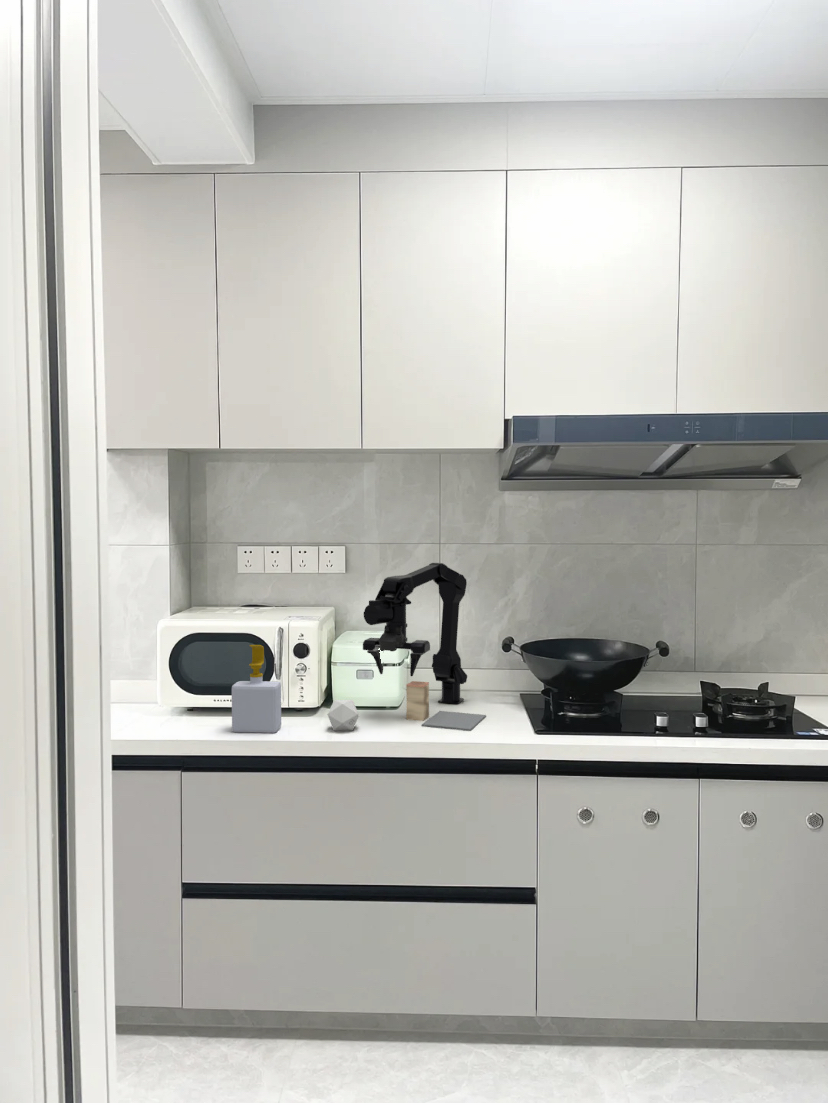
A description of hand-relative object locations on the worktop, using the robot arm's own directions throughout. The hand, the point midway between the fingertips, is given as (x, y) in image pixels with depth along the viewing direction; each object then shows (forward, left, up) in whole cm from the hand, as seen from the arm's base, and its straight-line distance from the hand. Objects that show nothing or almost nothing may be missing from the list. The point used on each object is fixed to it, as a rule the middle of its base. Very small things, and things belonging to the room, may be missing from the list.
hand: (396, 675), depth 237 cm
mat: (-1, +17, -12) cm, 21 cm away
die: (+17, -9, -12) cm, 23 cm away
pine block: (-1, +6, -12) cm, 14 cm away
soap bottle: (+26, -30, -12) cm, 42 cm away
